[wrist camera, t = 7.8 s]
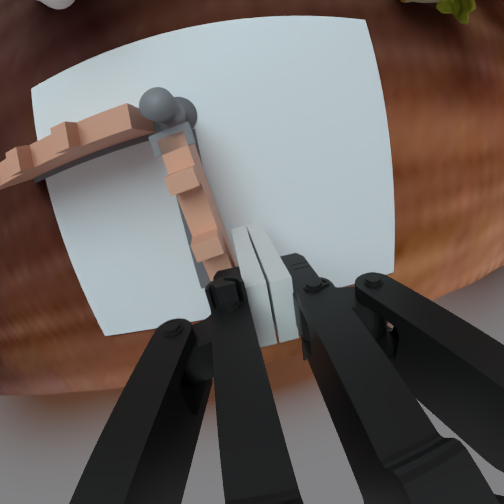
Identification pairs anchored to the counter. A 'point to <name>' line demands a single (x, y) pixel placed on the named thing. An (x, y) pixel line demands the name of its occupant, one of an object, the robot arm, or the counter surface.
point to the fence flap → (194, 197)
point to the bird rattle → (451, 7)
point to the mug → (57, 3)
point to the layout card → (226, 160)
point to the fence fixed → (91, 136)
